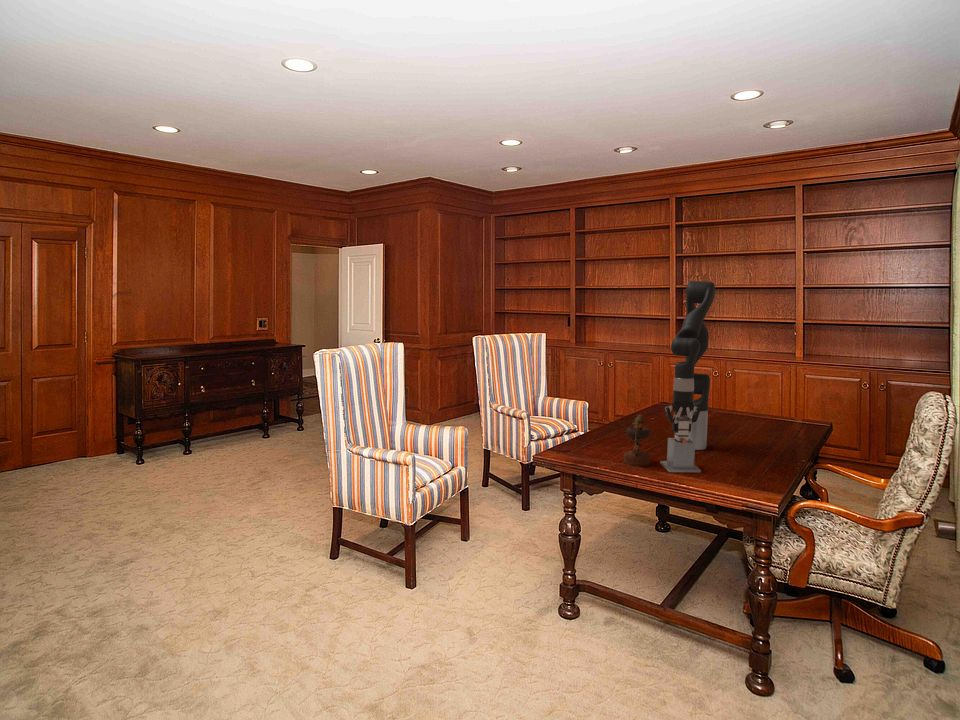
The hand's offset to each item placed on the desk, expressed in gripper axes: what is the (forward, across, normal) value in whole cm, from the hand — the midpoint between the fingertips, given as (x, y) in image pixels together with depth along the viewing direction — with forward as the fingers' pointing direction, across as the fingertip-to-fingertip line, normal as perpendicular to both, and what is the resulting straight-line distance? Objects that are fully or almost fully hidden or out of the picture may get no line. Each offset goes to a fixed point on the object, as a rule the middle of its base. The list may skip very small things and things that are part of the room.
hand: (681, 432), depth 232 cm
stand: (+14, 0, 0) cm, 14 cm away
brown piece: (+14, +15, -8) cm, 22 cm away
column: (+13, 0, 0) cm, 13 cm away
